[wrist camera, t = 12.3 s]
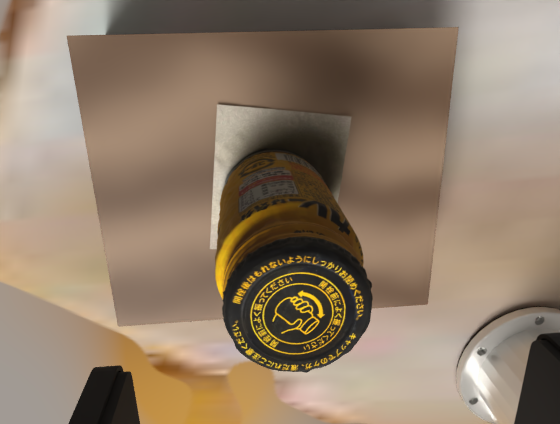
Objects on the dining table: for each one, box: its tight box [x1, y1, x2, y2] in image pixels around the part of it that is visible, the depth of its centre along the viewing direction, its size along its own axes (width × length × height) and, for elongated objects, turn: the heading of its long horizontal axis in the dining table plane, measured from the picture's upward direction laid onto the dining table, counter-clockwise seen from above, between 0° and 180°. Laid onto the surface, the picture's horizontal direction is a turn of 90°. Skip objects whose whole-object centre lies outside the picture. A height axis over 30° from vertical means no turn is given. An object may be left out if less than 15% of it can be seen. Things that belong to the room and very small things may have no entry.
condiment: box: [210, 104, 373, 372], centre depth 21 cm, size 7×8×12 cm
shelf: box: [67, 27, 458, 326], centre depth 30 cm, size 17×20×7 cm
